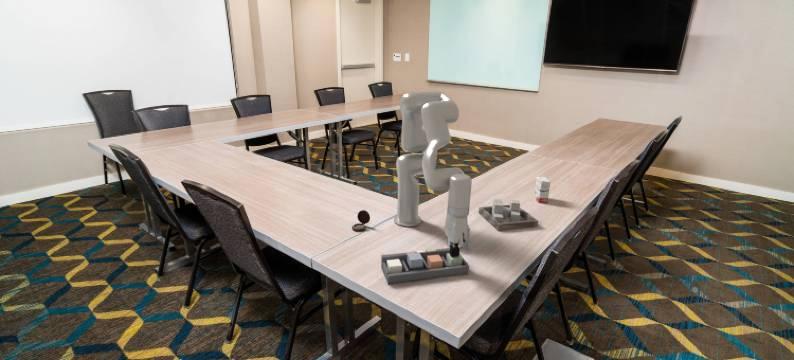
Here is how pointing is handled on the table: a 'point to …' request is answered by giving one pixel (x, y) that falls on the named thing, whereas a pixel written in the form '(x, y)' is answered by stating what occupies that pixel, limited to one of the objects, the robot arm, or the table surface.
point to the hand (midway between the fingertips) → (454, 255)
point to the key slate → (415, 260)
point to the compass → (362, 221)
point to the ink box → (542, 189)
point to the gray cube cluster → (506, 210)
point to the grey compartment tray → (425, 271)
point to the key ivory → (394, 266)
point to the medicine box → (466, 240)
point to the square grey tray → (528, 222)
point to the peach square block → (434, 261)
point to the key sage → (454, 260)
